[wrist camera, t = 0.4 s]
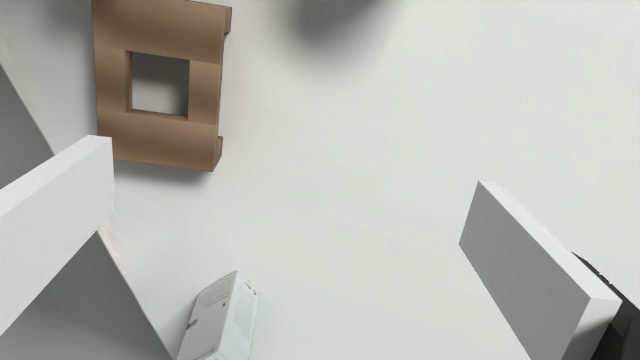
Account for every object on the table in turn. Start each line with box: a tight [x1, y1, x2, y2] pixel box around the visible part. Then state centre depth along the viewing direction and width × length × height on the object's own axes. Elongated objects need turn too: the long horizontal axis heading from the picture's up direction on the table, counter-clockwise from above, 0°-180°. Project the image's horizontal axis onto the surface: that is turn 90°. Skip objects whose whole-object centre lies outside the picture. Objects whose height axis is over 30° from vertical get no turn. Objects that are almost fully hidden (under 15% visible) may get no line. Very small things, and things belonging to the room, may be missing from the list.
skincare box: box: [176, 271, 259, 360], centre depth 43 cm, size 6×4×12 cm
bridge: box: [92, 0, 232, 172], centre depth 37 cm, size 14×10×4 cm
